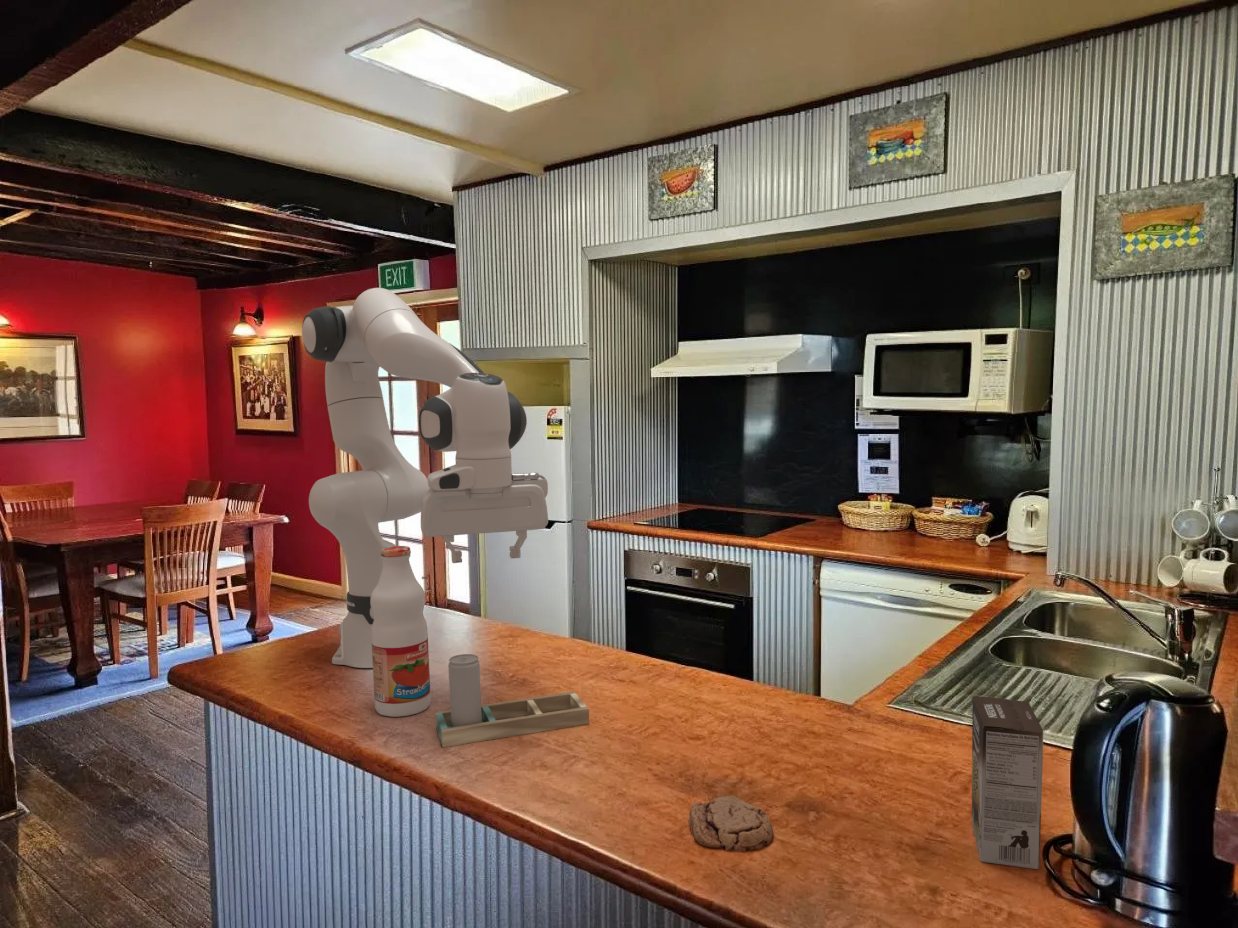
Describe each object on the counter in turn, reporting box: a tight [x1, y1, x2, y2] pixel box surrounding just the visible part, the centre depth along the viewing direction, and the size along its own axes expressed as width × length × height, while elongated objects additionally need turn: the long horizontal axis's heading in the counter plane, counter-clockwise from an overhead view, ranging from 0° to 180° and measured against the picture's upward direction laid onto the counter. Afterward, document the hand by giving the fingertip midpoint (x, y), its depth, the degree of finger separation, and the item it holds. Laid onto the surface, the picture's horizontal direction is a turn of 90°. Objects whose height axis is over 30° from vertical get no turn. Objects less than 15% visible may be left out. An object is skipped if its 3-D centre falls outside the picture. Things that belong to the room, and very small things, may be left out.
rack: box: [434, 691, 590, 748], centre depth 135 cm, size 8×24×2 cm, turn 109°
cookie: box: [688, 795, 774, 853], centre depth 102 cm, size 10×11×3 cm
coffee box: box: [971, 696, 1044, 870], centre depth 96 cm, size 9×6×16 cm
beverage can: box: [447, 653, 482, 728], centre depth 132 cm, size 5×5×12 cm
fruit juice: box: [370, 545, 432, 718], centre depth 143 cm, size 9×9×28 cm
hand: (486, 559), depth 135 cm, fingers open, 8 cm apart
